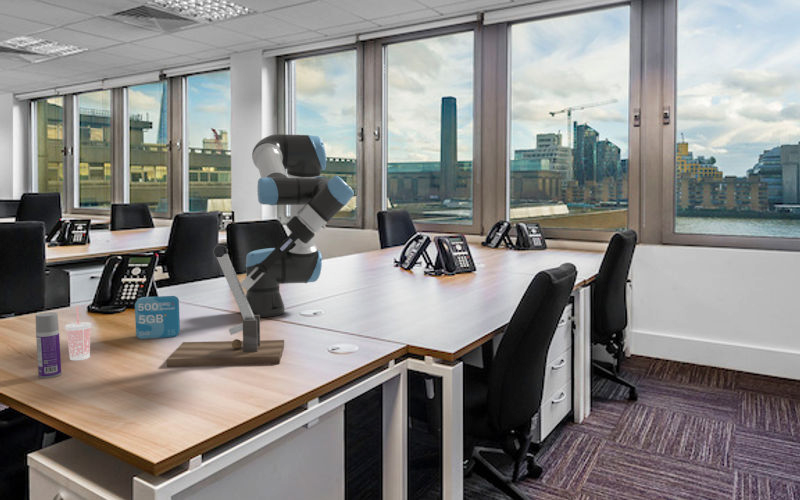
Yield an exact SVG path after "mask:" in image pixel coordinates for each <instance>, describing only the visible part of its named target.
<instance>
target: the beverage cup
mask: <svg viewBox="0 0 800 500" xmlns="http://www.w3.org/2000/svg"><path fill="white" fill-rule="evenodd" d="M75 309H76V310H75V311H76V322H72V323H68V324H65V325H64V330H65V331H66V337H67V338H66V339H67V347H68V354H69V359H70V361H83V360H87V359H90V357H91V354H90V353H91V328H92V323H91V322H88V321H87V322H86V321H80V315H79V314H80V313H79V306H78V305H76V308H75Z"/></svg>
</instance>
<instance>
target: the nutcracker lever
mask: <svg viewBox="0 0 800 500" xmlns="http://www.w3.org/2000/svg"><path fill="white" fill-rule="evenodd" d="M212 252H213V255H214V256H215V258H216V259H217V261H218V264H219V266H220V268H221V271H222V273H223V275H224V277H225V279H226V282H227V284H228V286H229V289H230V291H231V293H232V295H233V298H234V300H235V303H236V305H237V307H238V309H239V312H240V314H241V316H242V318H243V319H242V320H257V319H256V318H255V316H254V314H253V312H252V310H251V307H250V305H249V303H248V300H247V298H246V293H245V291H244V288H243V287H242V286H241V285H240V283H241V282H240V279H239V278H238V275H237V272H236V270H235V268H234V266H233V263H232V261H231V259H230V257H229V254H228V248H227V247H226V246H225V245H223V244H217V245H216V246H214V248H213V251H212ZM257 323H258V321H257ZM228 331H229V335H230V336H232V335H235V334H237V333H240V332H243V322H241V323H238V324H236V325H234V326H232V327H229V328H228Z"/></svg>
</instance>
